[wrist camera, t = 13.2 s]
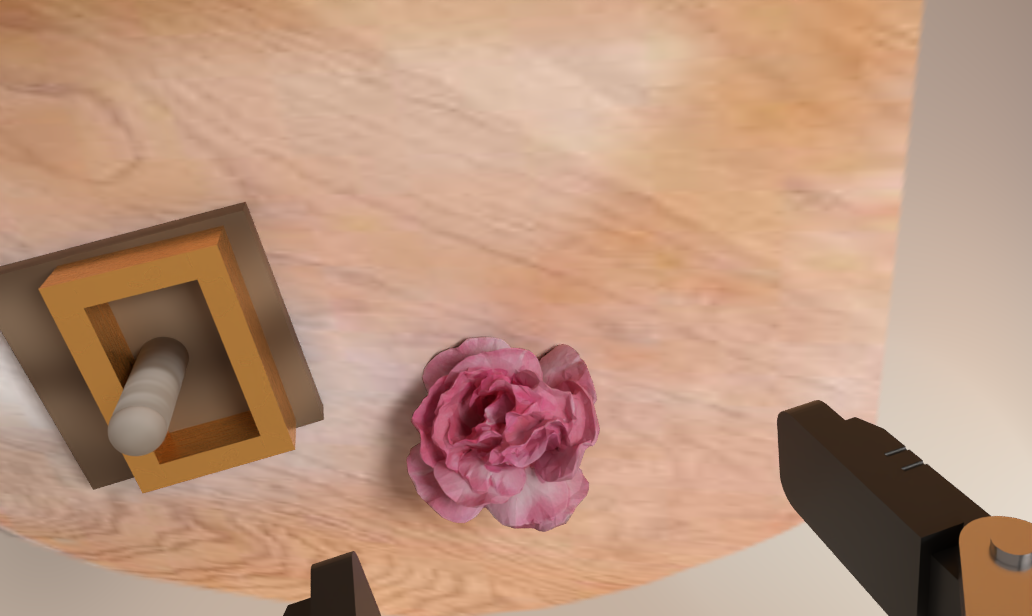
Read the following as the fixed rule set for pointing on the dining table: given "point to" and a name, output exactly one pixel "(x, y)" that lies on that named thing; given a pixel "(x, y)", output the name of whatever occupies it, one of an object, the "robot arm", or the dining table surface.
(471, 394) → the flower
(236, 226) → the keeper base
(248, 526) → the dining table surface
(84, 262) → the orange rectangular frame
